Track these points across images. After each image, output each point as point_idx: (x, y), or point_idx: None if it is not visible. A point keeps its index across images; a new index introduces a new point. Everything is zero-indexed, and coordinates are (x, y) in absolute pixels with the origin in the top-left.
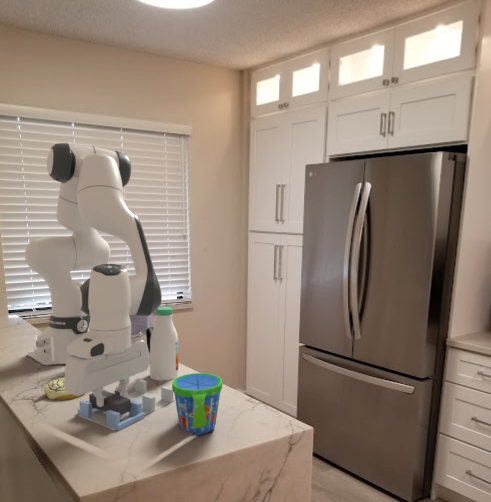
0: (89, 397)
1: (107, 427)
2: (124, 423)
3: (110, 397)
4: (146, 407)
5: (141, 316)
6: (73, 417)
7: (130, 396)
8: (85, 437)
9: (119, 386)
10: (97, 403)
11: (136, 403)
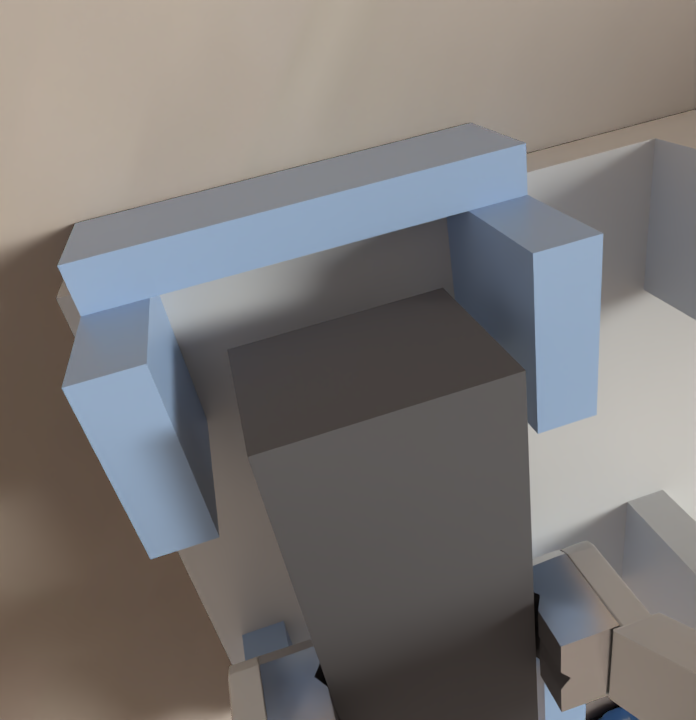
0: (243, 426)
1: (232, 662)
2: None
3: (428, 677)
4: (638, 551)
5: None
6: (30, 158)
7: None
8: (40, 631)
9: (655, 671)
10: (235, 694)
11: (557, 711)
